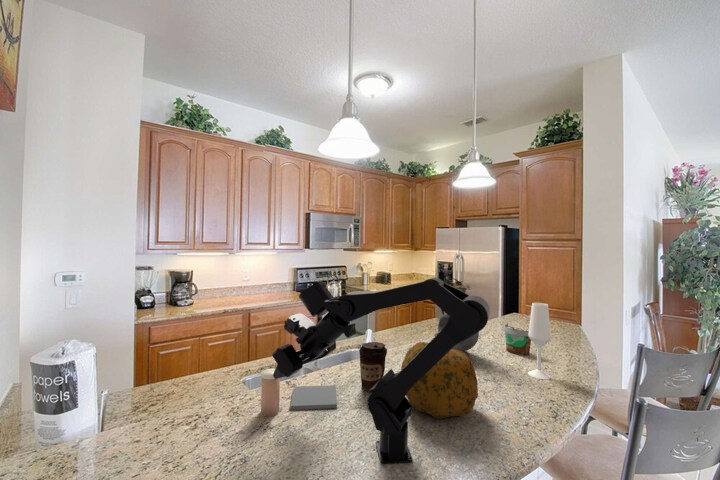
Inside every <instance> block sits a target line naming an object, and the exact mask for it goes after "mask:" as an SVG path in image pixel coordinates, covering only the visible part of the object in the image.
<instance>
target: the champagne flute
mask: <svg viewBox="0 0 720 480" xmlns="http://www.w3.org/2000/svg"><path fill="white" fill-rule="evenodd" d="M549 312H550V310H549V304H548V303H544V302H532V304H531V309H530V317H529V326H528V327H529V328H528V331H529V333H528V336H529V338H530V339H531V343H533V344H534V345H535V346H537V347H536V348H537V352H536V353H537V355H536V369H533V370H529V371H528V372H527V374H528V375H529V376H530V377H532V378H536V379H538V380H539V379H540V380H549V379H550V378H551V376H550V375H549V374H548V373H547V372H545V371H544V370H542V347H544V346H546V345H547V344H549V342H550V341H551V339H552V335H551V333H552V332H551V324H550V323H551V322H550V313H549Z"/></svg>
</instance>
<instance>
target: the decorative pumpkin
mask: <svg viewBox="0 0 720 480" xmlns="http://www.w3.org/2000/svg"><path fill="white" fill-rule="evenodd" d="M437 334H438V332H436V333H435V334H434V337H435V336H436V335H437ZM428 343H429V342H424V341H421V342H417V343H416V344H414V345H413V346H412V347H411V348H409V349H408V351H406V353H405V356H404V359H403V361H402V363H401V367H400V371H401V370H402V369H403V368H404V367H405V366H406V365H407V364H408V363H409V362H410V361H411V360H412V359H413V358H414V357H415V356H416V355H417V354H418V353H419V352H420V351H421V350H422V349H423V348H424V347H425V346H426V345H427V344H428ZM405 397H406V398H407V399H408V401H409V402H410V403H411V405H412V406H413V408H414V409H417V410H418V411H419V412H422V413H427V414H428V415H431V416H432V417H433V418H434V419H435V418H436V419H438V420H441V419H445V418H449V417H461V416H465V415H468V414H469V413H471V412H472V410H473V409H474V407H475V403H476V400H477V399H478V397H479V386H478V379H477V375H476V369H475V367H474V363H473V361H472V360H471V358H470V357H469V356H468V354H467V355H466V354H465V353H464V352H462V351H458V350H454V349H451V350H450V351H449V352H448V353H447V354H446V355H445V356H444V357H443V358H442V359H441V360H440V361H439V362H438V363H436V364H435V365H434V366H433V367H432V368H431V369H430V370H429V371H428V372H427V373H426V374H425V375H424V376H423V377H422V378H421V379H420V380H419V381H418V382H417V383H416V384H415V385H414V386H413V387H412V388H411V389H410V390H409V392H408V393H407V395H406V396H405Z"/></svg>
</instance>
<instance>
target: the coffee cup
mask: <svg viewBox="0 0 720 480" xmlns="http://www.w3.org/2000/svg"><path fill="white" fill-rule="evenodd" d="M387 354H388V349H387V348H386V344H385V343H383V342H378V341H369V342H364V343H362V344H361V346H360V348H359V366H360V369H359V370H360V380H361V389H362V390H363V391H365V392H368V393H370V392H369V390H370V389H371V388H372V387H373V386H374V385H375V384H376V383H377V382H378V381H379V380H380V379H381V378H382V377H383V376H384V375H385V369H386V358H387Z"/></svg>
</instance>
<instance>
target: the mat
mask: <svg viewBox="0 0 720 480" xmlns="http://www.w3.org/2000/svg"><path fill="white" fill-rule="evenodd" d="M336 387H337V386H336V384H335V385H334V384H333V385H330V384H329V385H301V386H300V385H299V386H294V388H293V392H292V397H291V401H290V406H289V410H296V411H297V410H319V409H322V410H323V409H325V410H326V409H338V401H337V400H338V399H337V388H336Z"/></svg>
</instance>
